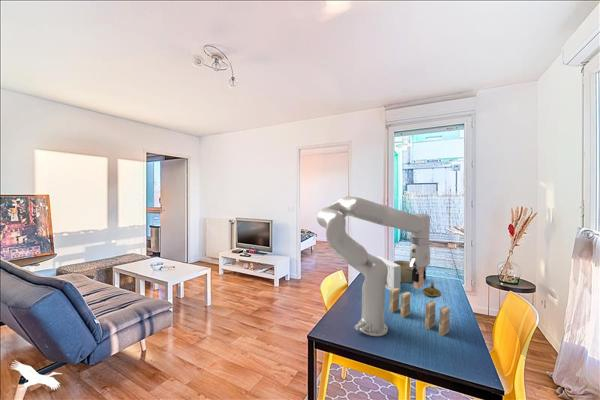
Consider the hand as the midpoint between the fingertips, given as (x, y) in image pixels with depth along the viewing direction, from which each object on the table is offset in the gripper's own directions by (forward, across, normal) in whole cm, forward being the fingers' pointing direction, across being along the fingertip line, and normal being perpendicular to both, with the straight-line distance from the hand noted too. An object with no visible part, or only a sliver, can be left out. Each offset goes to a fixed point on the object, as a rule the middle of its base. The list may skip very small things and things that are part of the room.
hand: (418, 279), depth 119 cm
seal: (+20, +36, +12) cm, 43 cm away
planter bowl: (+20, +42, +32) cm, 56 cm away
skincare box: (+20, +24, +34) cm, 46 cm away
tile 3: (+20, 0, -6) cm, 21 cm away
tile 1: (+20, 0, +6) cm, 21 cm away
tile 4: (+20, 0, -12) cm, 23 cm away
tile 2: (+3, 0, 0) cm, 3 cm away
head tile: (+20, 0, +12) cm, 23 cm away
